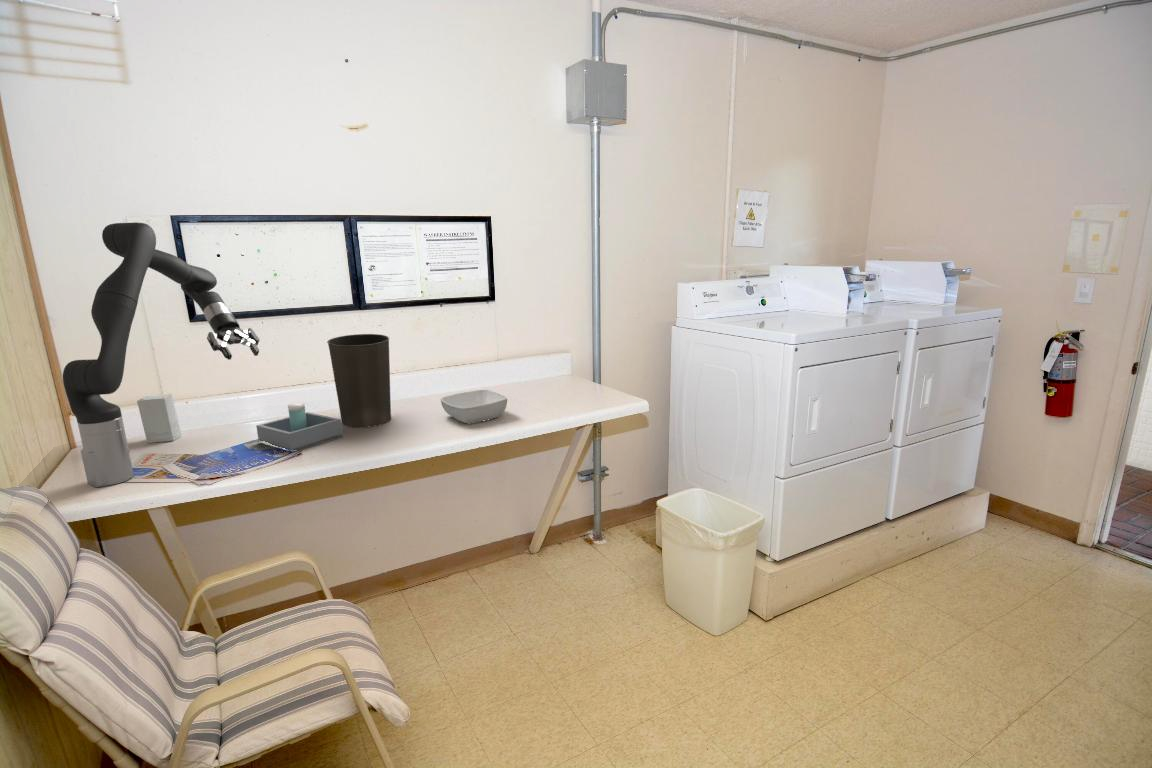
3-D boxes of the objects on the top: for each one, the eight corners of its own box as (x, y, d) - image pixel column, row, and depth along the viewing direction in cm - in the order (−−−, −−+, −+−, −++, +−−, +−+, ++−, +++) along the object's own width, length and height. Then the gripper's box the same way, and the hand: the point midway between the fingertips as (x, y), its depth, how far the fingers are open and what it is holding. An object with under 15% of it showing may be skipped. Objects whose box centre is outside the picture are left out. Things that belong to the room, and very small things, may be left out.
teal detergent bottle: (298, 440, 185) (293, 406, 183) (288, 437, 188) (284, 405, 185) (311, 436, 189) (307, 403, 187) (302, 434, 192) (298, 401, 189)
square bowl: (461, 429, 197) (459, 408, 196) (437, 416, 213) (435, 396, 212) (513, 418, 209) (512, 398, 207) (486, 407, 225) (485, 388, 224)
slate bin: (291, 452, 177) (289, 433, 175) (258, 443, 186) (256, 425, 185) (342, 436, 191) (340, 419, 190) (309, 428, 201) (307, 412, 199)
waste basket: (399, 427, 200) (392, 342, 193) (336, 435, 193) (326, 346, 186) (393, 409, 225) (386, 332, 218) (337, 415, 217) (328, 336, 211)
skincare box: (181, 436, 195) (174, 393, 192) (173, 441, 189) (165, 397, 186) (154, 438, 193) (146, 395, 190) (144, 443, 188) (136, 399, 184)
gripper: (200, 313, 184) (224, 351, 180) (246, 309, 195) (268, 345, 192) (195, 329, 188) (218, 367, 184) (240, 324, 199) (262, 360, 196)
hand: (244, 356), depth 188 cm, fingers open, 8 cm apart
